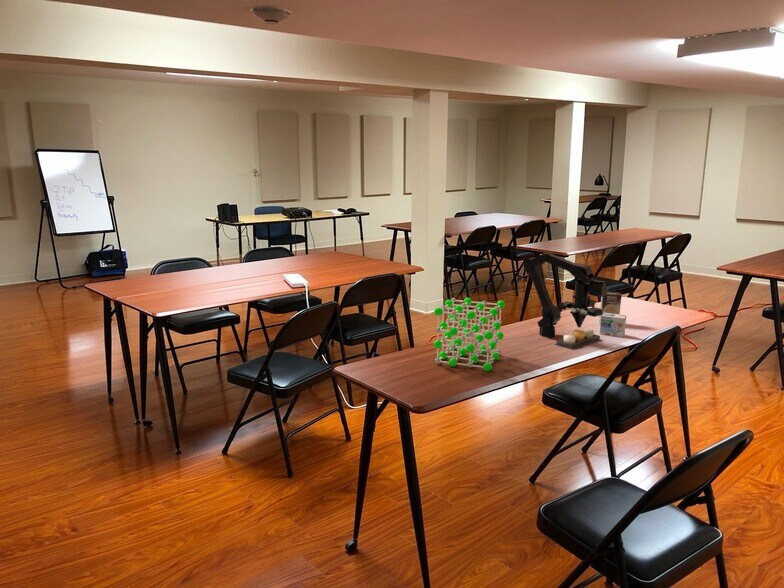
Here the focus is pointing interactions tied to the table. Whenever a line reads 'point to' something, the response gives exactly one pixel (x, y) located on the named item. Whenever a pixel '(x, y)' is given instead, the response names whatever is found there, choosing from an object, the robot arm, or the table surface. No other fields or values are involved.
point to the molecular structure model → (469, 332)
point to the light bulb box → (613, 324)
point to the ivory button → (569, 339)
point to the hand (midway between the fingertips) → (579, 327)
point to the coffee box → (610, 303)
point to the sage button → (588, 333)
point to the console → (578, 342)
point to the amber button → (579, 335)
